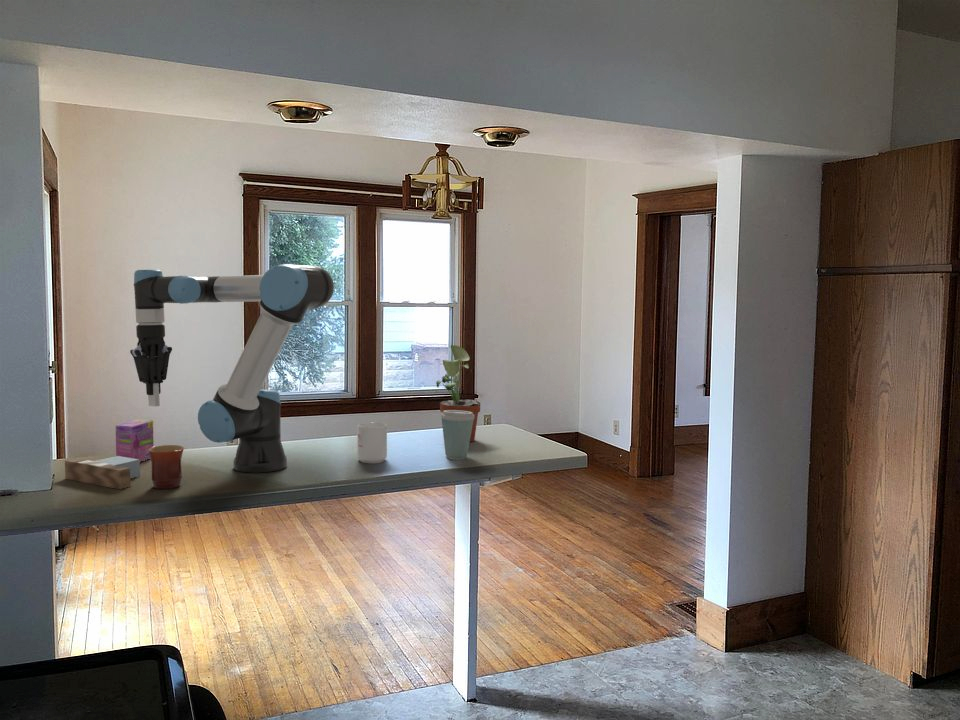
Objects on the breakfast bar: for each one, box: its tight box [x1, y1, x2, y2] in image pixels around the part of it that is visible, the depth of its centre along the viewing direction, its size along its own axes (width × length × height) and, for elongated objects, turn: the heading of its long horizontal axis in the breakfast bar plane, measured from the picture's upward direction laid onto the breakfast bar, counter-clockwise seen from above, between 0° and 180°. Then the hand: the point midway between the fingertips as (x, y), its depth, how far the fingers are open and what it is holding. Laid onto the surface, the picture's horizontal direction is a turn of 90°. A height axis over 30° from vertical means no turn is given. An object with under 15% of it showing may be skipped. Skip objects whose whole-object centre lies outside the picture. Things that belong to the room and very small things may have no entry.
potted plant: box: [435, 344, 481, 443], centre depth 268 cm, size 16×15×35 cm
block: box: [95, 455, 141, 479], centre depth 214 cm, size 9×8×5 cm
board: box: [64, 458, 131, 490], centre depth 208 cm, size 22×3×5 cm, turn 63°
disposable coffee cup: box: [440, 410, 475, 461], centre depth 243 cm, size 11×11×15 cm
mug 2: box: [357, 421, 388, 464], centre depth 239 cm, size 12×9×11 cm
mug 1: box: [148, 444, 185, 490], centre depth 207 cm, size 12×9×10 cm
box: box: [115, 419, 155, 463], centre depth 233 cm, size 10×6×12 cm, turn 168°
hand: (154, 405), depth 224 cm, fingers closed
